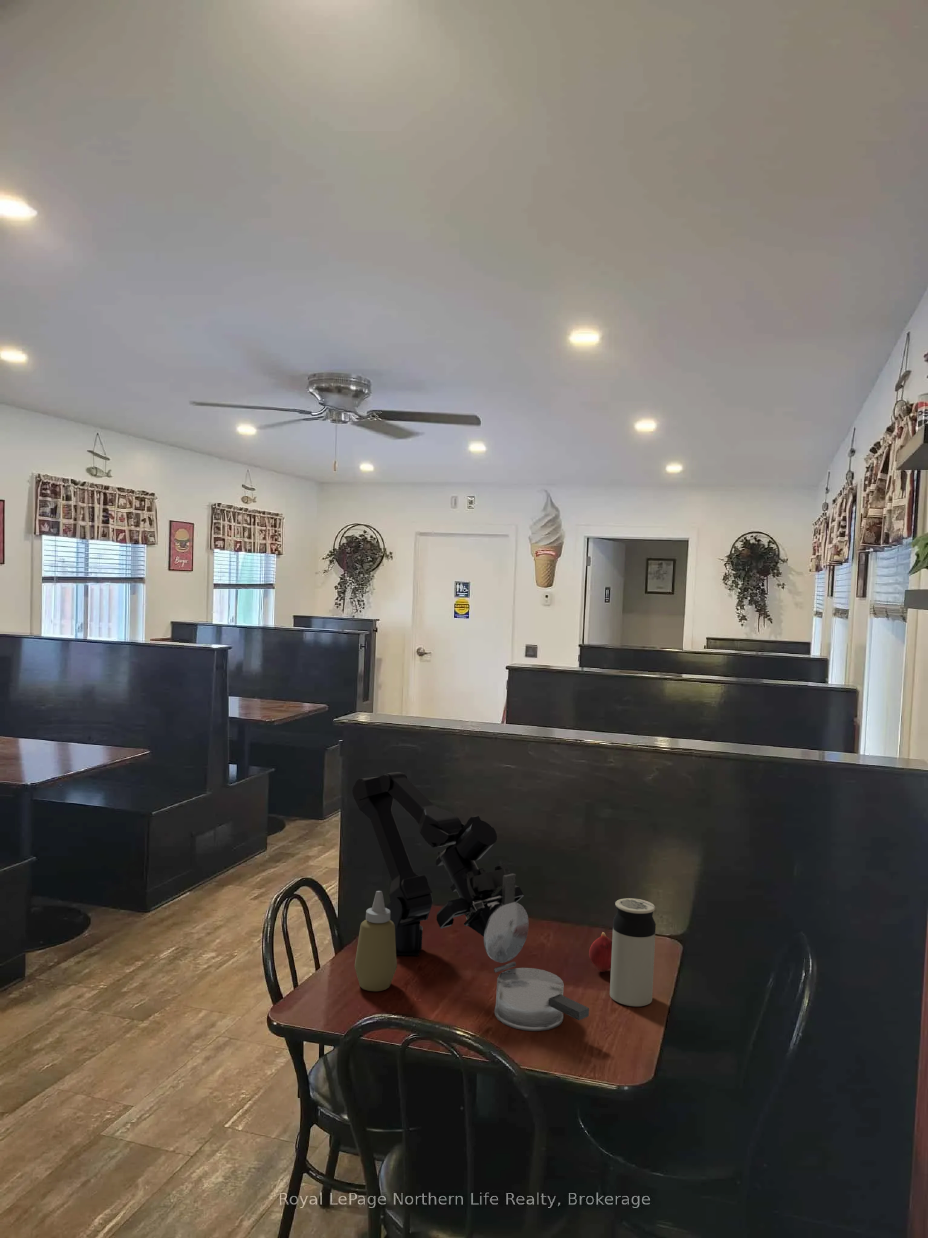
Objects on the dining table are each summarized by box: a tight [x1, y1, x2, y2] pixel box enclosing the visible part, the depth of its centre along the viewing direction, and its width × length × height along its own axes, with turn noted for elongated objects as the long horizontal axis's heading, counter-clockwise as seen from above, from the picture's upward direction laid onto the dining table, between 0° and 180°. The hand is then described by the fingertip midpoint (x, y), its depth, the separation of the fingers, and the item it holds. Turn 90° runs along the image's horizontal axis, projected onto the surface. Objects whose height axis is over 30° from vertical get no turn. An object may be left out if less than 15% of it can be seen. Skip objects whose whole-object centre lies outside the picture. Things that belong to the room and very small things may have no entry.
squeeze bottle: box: [354, 890, 398, 992], centre depth 163 cm, size 8×8×18 cm
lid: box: [483, 872, 529, 973], centre depth 159 cm, size 18×11×1 cm
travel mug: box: [609, 897, 657, 1008], centre depth 162 cm, size 8×8×18 cm
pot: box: [494, 967, 590, 1032], centre depth 151 cm, size 19×12×6 cm, turn 42°
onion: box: [588, 931, 612, 973], centre depth 174 cm, size 6×6×8 cm
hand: (501, 946), depth 160 cm, fingers closed
